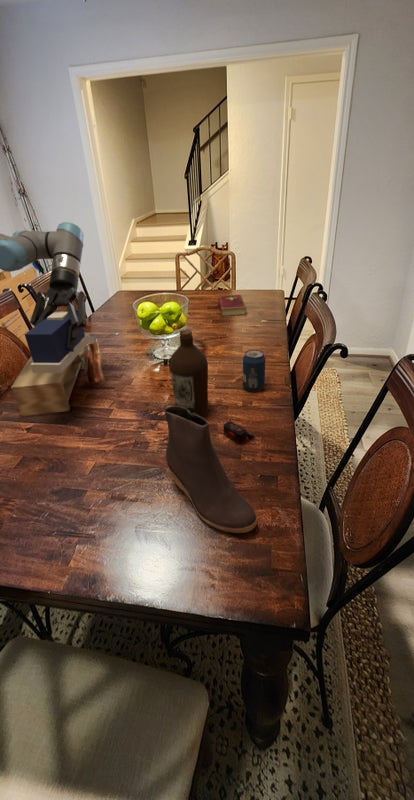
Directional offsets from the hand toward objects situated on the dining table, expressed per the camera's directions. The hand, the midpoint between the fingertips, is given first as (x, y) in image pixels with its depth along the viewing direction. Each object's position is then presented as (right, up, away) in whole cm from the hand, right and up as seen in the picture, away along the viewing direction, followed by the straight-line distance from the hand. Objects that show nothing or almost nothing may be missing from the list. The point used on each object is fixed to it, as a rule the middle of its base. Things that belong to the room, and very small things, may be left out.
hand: (54, 349), depth 102 cm
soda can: (+57, -10, +18) cm, 60 cm away
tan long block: (-9, -10, +23) cm, 27 cm away
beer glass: (+3, -7, +27) cm, 28 cm away
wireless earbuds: (+50, -24, -4) cm, 56 cm away
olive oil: (+37, -17, +8) cm, 42 cm away
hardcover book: (+54, +32, +85) cm, 106 cm away
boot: (+42, -36, -23) cm, 60 cm away
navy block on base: (+1, -1, +6) cm, 6 cm away
